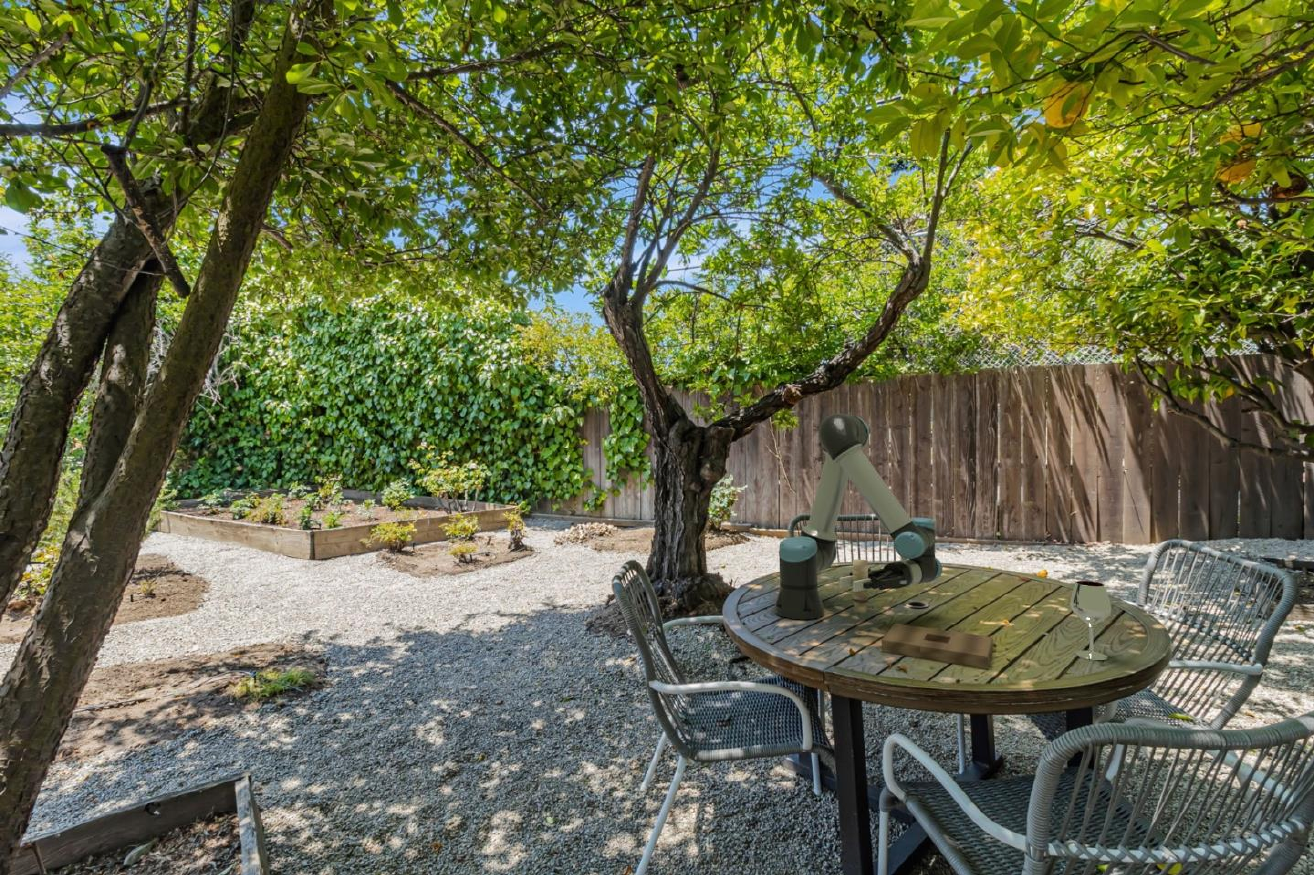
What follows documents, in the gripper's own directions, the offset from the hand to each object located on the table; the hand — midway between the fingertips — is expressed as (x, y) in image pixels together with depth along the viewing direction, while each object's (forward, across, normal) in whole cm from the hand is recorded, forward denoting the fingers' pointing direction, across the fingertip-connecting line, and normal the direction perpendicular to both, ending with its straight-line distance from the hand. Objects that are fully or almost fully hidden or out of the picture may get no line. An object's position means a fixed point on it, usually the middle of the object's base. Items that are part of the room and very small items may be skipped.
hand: (847, 584), depth 162 cm
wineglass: (-39, -42, -14) cm, 60 cm away
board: (-13, -18, -15) cm, 27 cm away
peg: (-5, 0, -8) cm, 10 cm away
